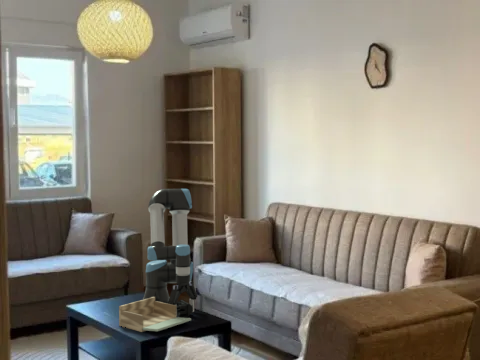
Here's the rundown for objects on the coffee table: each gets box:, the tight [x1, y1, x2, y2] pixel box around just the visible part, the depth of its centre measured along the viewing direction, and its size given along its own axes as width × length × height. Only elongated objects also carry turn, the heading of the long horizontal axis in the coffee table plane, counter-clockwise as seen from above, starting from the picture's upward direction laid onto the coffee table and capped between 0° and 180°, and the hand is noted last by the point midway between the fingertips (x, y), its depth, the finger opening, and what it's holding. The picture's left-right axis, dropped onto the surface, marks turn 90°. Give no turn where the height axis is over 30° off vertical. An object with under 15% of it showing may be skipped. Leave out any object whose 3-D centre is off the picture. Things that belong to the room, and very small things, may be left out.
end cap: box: [175, 299, 193, 318], centre depth 346 cm, size 10×7×7 cm
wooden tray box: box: [118, 297, 176, 333], centre depth 329 cm, size 24×16×10 cm
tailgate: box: [143, 316, 192, 332], centre depth 321 cm, size 24×1×10 cm
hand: (183, 314), depth 346 cm, fingers open, 13 cm apart
